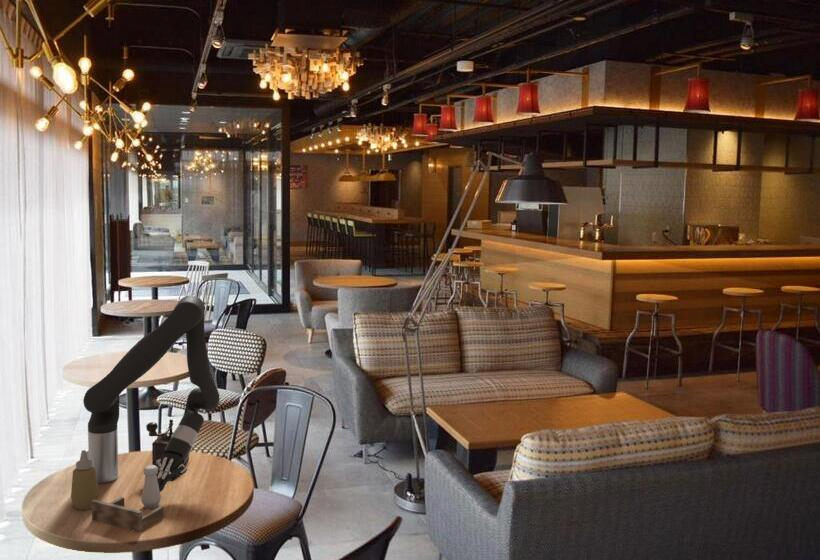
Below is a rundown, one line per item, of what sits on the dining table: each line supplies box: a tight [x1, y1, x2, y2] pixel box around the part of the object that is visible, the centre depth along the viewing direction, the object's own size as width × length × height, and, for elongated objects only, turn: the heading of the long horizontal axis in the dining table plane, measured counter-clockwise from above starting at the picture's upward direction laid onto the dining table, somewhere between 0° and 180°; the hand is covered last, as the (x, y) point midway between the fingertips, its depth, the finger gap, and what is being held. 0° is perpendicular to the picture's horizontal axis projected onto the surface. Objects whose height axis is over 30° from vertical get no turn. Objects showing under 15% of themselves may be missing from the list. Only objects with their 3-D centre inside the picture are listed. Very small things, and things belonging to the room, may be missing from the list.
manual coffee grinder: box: [145, 419, 190, 465], centre depth 265 cm, size 16×11×18 cm
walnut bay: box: [91, 496, 164, 533], centre depth 225 cm, size 18×11×6 cm, turn 68°
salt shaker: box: [141, 464, 162, 510], centre depth 233 cm, size 6×6×13 cm
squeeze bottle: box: [70, 449, 100, 511], centre depth 231 cm, size 8×8×18 cm
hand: (156, 491), depth 236 cm, fingers closed
